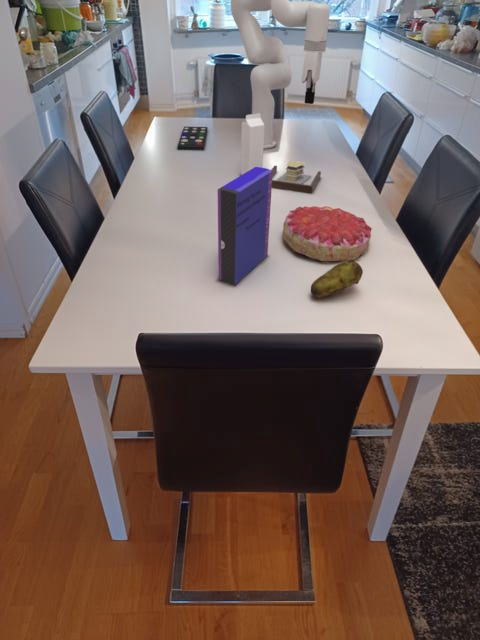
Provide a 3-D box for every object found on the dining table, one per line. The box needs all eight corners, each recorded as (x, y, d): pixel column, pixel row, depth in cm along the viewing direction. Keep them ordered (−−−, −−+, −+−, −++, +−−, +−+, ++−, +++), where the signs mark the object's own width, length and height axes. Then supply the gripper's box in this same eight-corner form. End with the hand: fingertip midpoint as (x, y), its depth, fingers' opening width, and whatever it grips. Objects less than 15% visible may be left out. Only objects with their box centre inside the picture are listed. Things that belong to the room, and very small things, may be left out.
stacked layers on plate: (299, 185, 169) (301, 170, 165) (277, 180, 172) (278, 165, 169) (310, 176, 176) (311, 162, 172) (288, 172, 179) (289, 158, 176)
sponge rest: (274, 171, 179) (274, 165, 178) (320, 178, 175) (321, 171, 173) (262, 186, 167) (263, 179, 166) (311, 193, 163) (312, 186, 161)
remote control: (177, 149, 198) (177, 145, 197) (184, 129, 222) (184, 125, 221) (203, 150, 198) (203, 145, 197) (207, 130, 222) (207, 125, 221)
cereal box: (252, 251, 129) (255, 165, 114) (267, 256, 127) (272, 169, 112) (218, 280, 117) (217, 188, 102) (234, 285, 115) (236, 193, 100)
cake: (262, 238, 132) (266, 213, 127) (313, 216, 148) (318, 192, 143) (334, 276, 120) (341, 249, 115) (381, 246, 136) (389, 222, 131)
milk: (262, 177, 174) (265, 115, 161) (248, 180, 172) (250, 117, 158) (253, 172, 178) (256, 111, 165) (240, 174, 176) (241, 112, 163)
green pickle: (304, 284, 116) (307, 256, 111) (353, 282, 117) (359, 254, 112) (311, 303, 110) (315, 274, 105) (364, 301, 111) (370, 272, 106)
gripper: (308, 43, 167) (303, 98, 178) (299, 48, 156) (294, 106, 167) (329, 44, 165) (322, 99, 177) (321, 49, 154) (315, 108, 165)
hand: (309, 103), depth 172 cm, fingers closed
